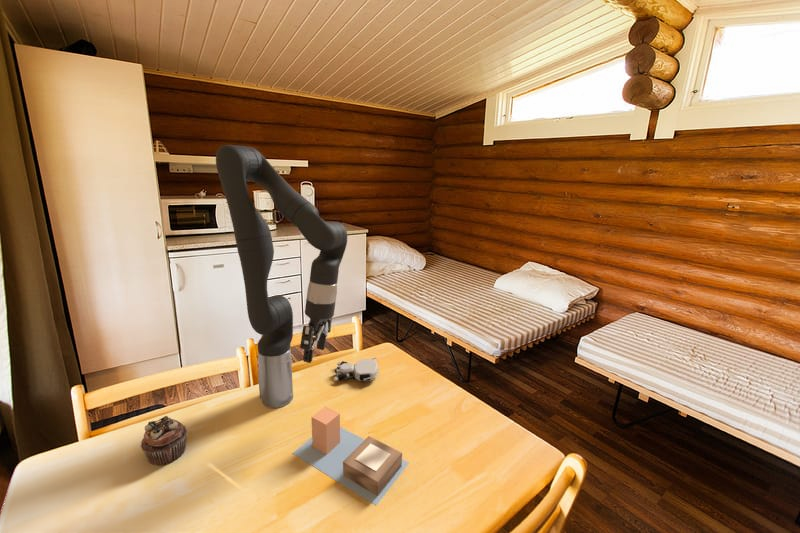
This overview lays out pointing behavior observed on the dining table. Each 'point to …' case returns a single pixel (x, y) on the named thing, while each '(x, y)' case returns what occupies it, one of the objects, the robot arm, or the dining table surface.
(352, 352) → the dining table surface
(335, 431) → the terracotta block
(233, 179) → the robot arm
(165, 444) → the cupcake
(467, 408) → the dining table surface
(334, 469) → the board
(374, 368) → the robot toy
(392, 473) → the walnut foundation
